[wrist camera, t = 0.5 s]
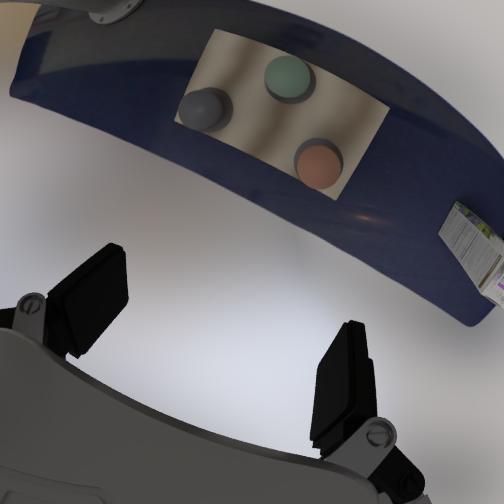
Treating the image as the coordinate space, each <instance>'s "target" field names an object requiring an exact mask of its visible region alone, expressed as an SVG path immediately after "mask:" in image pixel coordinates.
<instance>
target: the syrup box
mask: <svg viewBox="0 0 504 504" xmlns="http://www.w3.org/2000/svg"><path fill="white" fill-rule="evenodd" d="M438 235H439V236H440V237H441V239H442V240H443V241H444V242H445V244H446V245H447V246H448V248H449V249H450V250H451V252H452V253H453V254H454V256H455V257H456V258H457V260H458V261H459V262H460V264H461V265H462V267H463V268H464V270H465V271H466V272H467V274H468V275H469V277H470V278H471V280H472V281H473V283H474V284H475V286H476V287H477V289H478V290H479V292H480V293H481V294H482V295H484V296H485V297H486V298H488V299H489V300H490V301H491V302H493V303H494V304H496V305H498V306H499V307H500V308H502V309H504V240H503V239H502V238H501V237H500V236H499V235H498V234H497V233H496V232H495V231H494V230H492V229H491V228H490V227H489V226H488V225H487V224H486V223H484V222H483V221H482V220H481V219H480V218H479V217H477V216H476V215H475V214H474V213H473V212H471V211H470V210H469V209H468V208H466V207H465V206H464V205H462V204H461V203H459V202H458V201H456V202H455V204H454V205H453V207H452V209H451V211H450V213H449V215H448V216H447V218H446V220H445V222H444V224H443V225H442V227H441V229H440V231H439V232H438Z"/></svg>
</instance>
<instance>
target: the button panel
mask: <svg viewBox="0 0 504 504" xmlns="http://www.w3.org/2000/svg"><path fill="white" fill-rule="evenodd" d="M280 56H293V55H291V54H288V53H286V52H283V51H281V50H278V49H276V48H273V47H271V46H268V45H265V44H263V43H260V42H257V41H254V40H251V39H248V38H245V37H242V36H239V35H235V34H232V33H229V32H225V31H221V30H218V29H215V30H214V32H213V34H212V36H211V38H210V40H209V42H208V44H207V46H206V48H205V50H204V52H203V54H202V56H201V58H200V60H199V62H198V65H197V67H196V69H195V71H194V73H193V76H192V78H191V80H190V82H189V85H188V87H187V89H186V92H185V94H184V96H185V95H186V94H188V93H189V92H192V91H195V90H202V91H208V92H212V93H214V94H216V95H217V96H218V97H219V98H220V99H221V101H222V104H223V115H222V117H221V119H220V120H219V122H218V123H217V124H216V125H214V126H212V127H210V128H205V129H199V130H197V131H200V132H202V133H204V134H207V135H209V136H211V137H213V138H216V139H218V140H220V141H222V142H224V143H227V144H229V145H231V146H233V147H235V148H237V149H239V150H242V151H244V152H246V153H248V154H250V155H252V156H254V157H256V158H258V159H260V160H262V161H264V162H266V163H268V164H270V165H272V166H274V167H276V168H278V169H280V170H281V171H283V172H285V173H287V174H289V175H291V176H293V177H295V178H297V179H298V180H300V181H302V180H301V179H300V177H299V175H298V171H297V164H298V160H299V157H300V155H301V153H302V152H303V151H304V150H305V149H306V148H308V147H310V146H312V145H324V146H327V147H329V148H330V149H331V150H333V151H334V153H335V154H336V156H337V157H338V159H339V162H340V165H341V172H340V176H339V178H338V180H337V181H336V183H335V184H334V185H332V186H331V187H329V188H326V189H316V190H318V191H320V192H322V193H323V194H325V195H327V196H329V197H330V198H332V199H334V200H335V201H336V200H337V198H338V196H339V195H340V193H341V191H342V190H343V188H344V186H345V185H346V183H347V182H348V180H349V178H350V177H351V175H352V173H353V172H354V170H355V168H356V167H357V165H358V163H359V162H360V160H361V158H362V156H363V155H364V153H365V151H366V150H367V148H368V146H369V144H370V143H371V141H372V139H373V137H374V136H375V134H376V132H377V130H378V129H379V127H380V125H381V123H382V122H383V120H384V118H385V116H386V114H387V113H388V111H389V109H390V108H389V107H387V106H386V105H384V104H383V103H381V102H380V101H378V100H376V99H375V98H373V97H372V96H370V95H368V94H367V93H365V92H363V91H362V90H360V89H358V88H357V87H355V86H353V85H352V84H350V83H348V82H346V81H344V80H343V79H341V78H339V77H337V76H335V75H333V74H331V73H329V72H327V71H325V70H323V69H321V68H319V67H317V66H315V65H313V64H311V63H309V62H307V61H304V60H302V59H300V58H298V57H296V58H298V59H300V60H301V61H302V62H304V63H305V65H306V66H307V68H308V70H309V73H310V85H309V87H308V89H307V90H306V92H305V93H303V94H302V95H300V96H298V97H295V98H284V97H281V96H279V95H277V94H275V93H274V92H272V91H271V90H270V89H269V88H268V86H267V84H266V82H265V78H264V73H265V69H266V67H267V65H268V64H269V63H270V62H271V61H272V60H273V59H275V58H277V57H280ZM293 57H295V56H293ZM174 121H176V122H178V123H181V124H183V123H182V122H181V120H180V118H179V114H178V112H177V114H176V117H175V120H174ZM183 125H184V124H183Z"/></svg>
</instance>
